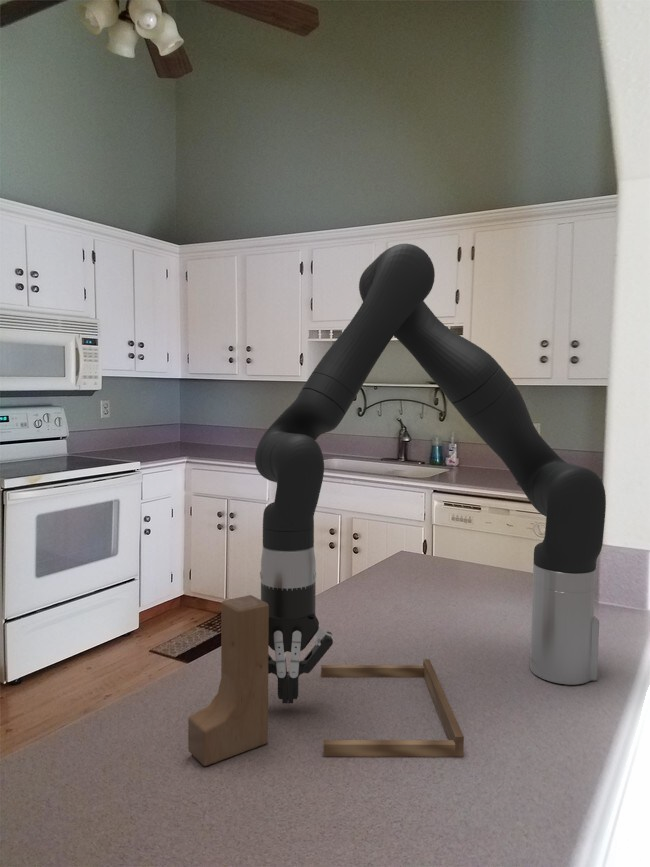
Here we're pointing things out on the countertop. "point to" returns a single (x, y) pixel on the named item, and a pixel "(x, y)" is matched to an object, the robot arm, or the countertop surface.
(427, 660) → the frame
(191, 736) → the wooden block
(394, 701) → the countertop surface
